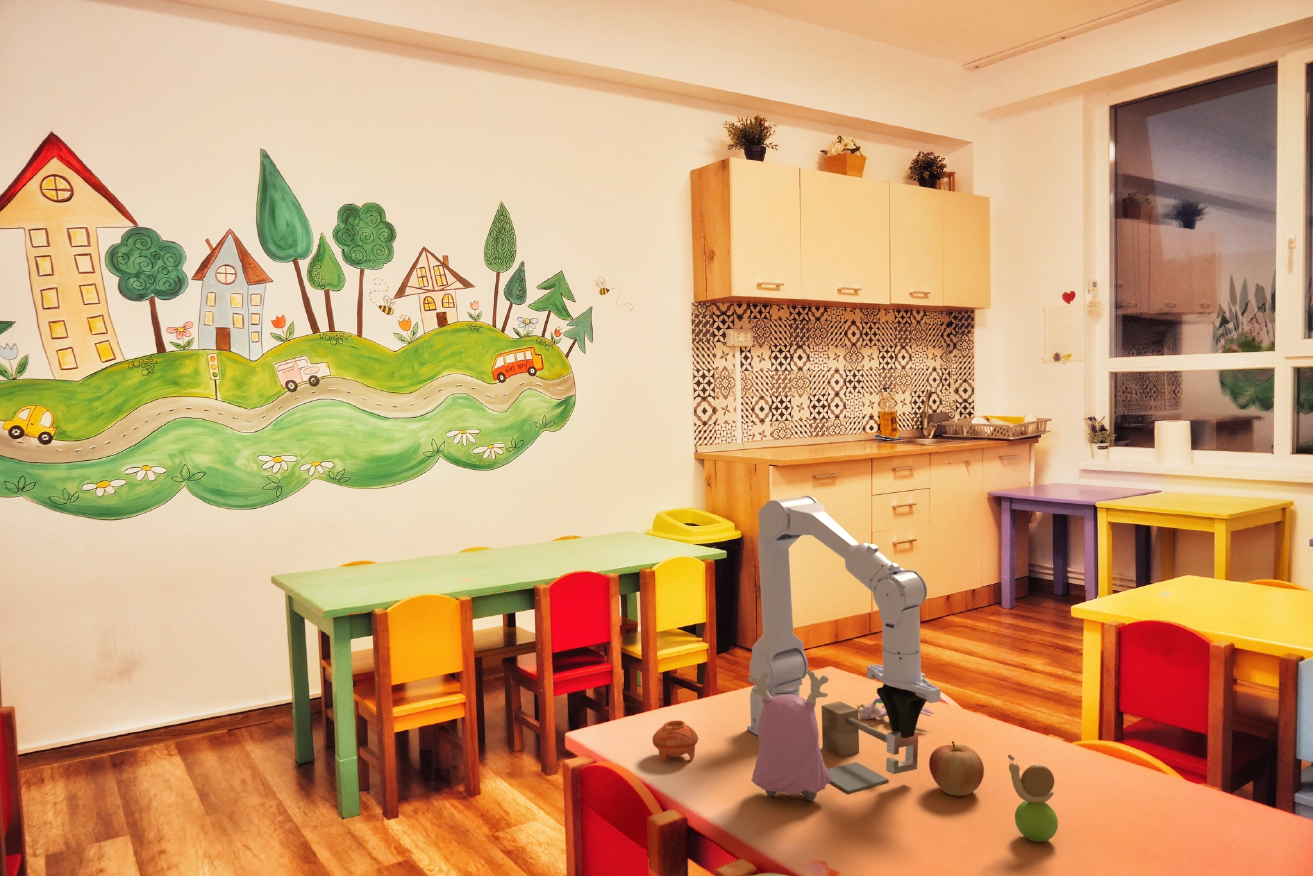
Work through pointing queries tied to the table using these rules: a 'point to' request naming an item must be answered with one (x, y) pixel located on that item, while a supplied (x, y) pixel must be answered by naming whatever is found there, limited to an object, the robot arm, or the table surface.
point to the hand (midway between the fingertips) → (903, 734)
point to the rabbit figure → (881, 710)
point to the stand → (844, 729)
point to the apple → (956, 769)
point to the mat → (855, 777)
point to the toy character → (789, 742)
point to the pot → (675, 740)
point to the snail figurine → (1034, 802)
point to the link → (893, 747)
